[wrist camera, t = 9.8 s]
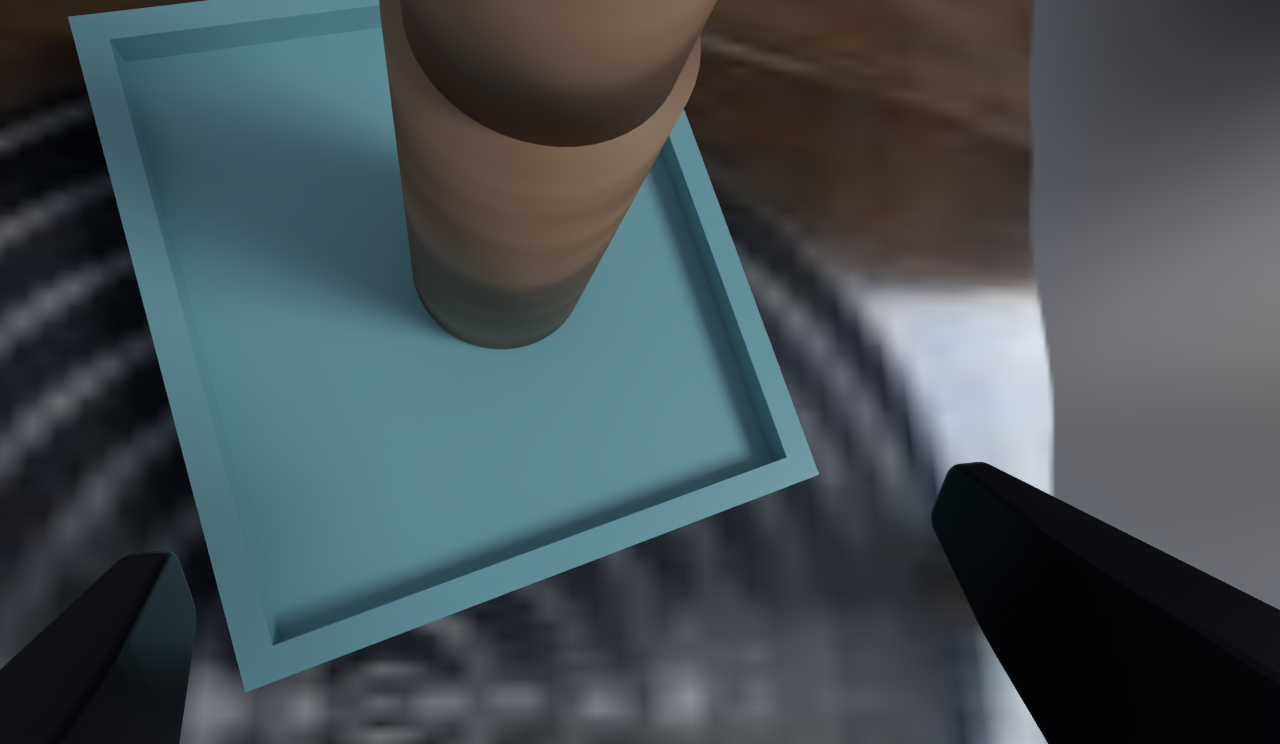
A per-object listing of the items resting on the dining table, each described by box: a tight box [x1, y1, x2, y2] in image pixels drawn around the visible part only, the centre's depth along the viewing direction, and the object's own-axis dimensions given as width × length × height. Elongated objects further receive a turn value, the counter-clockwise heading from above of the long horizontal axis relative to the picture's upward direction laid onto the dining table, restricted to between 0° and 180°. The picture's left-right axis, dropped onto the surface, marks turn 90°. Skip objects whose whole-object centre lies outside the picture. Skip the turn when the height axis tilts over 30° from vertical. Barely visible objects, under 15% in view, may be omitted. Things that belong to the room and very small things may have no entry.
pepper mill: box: [379, 0, 717, 349], centre depth 14 cm, size 5×5×15 cm
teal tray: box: [68, 0, 819, 693], centre depth 22 cm, size 18×16×2 cm
